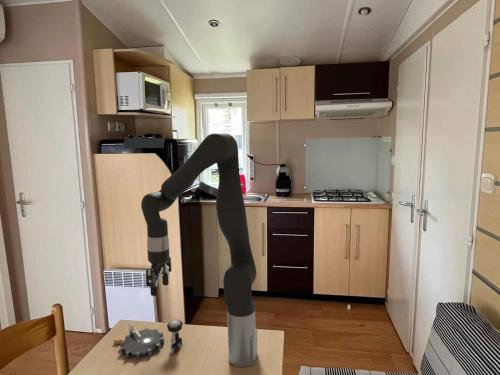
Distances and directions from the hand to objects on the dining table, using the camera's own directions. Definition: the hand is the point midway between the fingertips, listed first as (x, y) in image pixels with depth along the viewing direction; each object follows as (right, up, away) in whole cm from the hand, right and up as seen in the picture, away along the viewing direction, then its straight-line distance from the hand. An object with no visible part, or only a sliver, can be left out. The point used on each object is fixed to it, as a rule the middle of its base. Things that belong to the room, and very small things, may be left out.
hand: (160, 290), depth 114 cm
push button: (+6, -20, -3) cm, 21 cm away
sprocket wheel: (-6, -20, -1) cm, 21 cm away
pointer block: (-16, -20, +1) cm, 25 cm away
